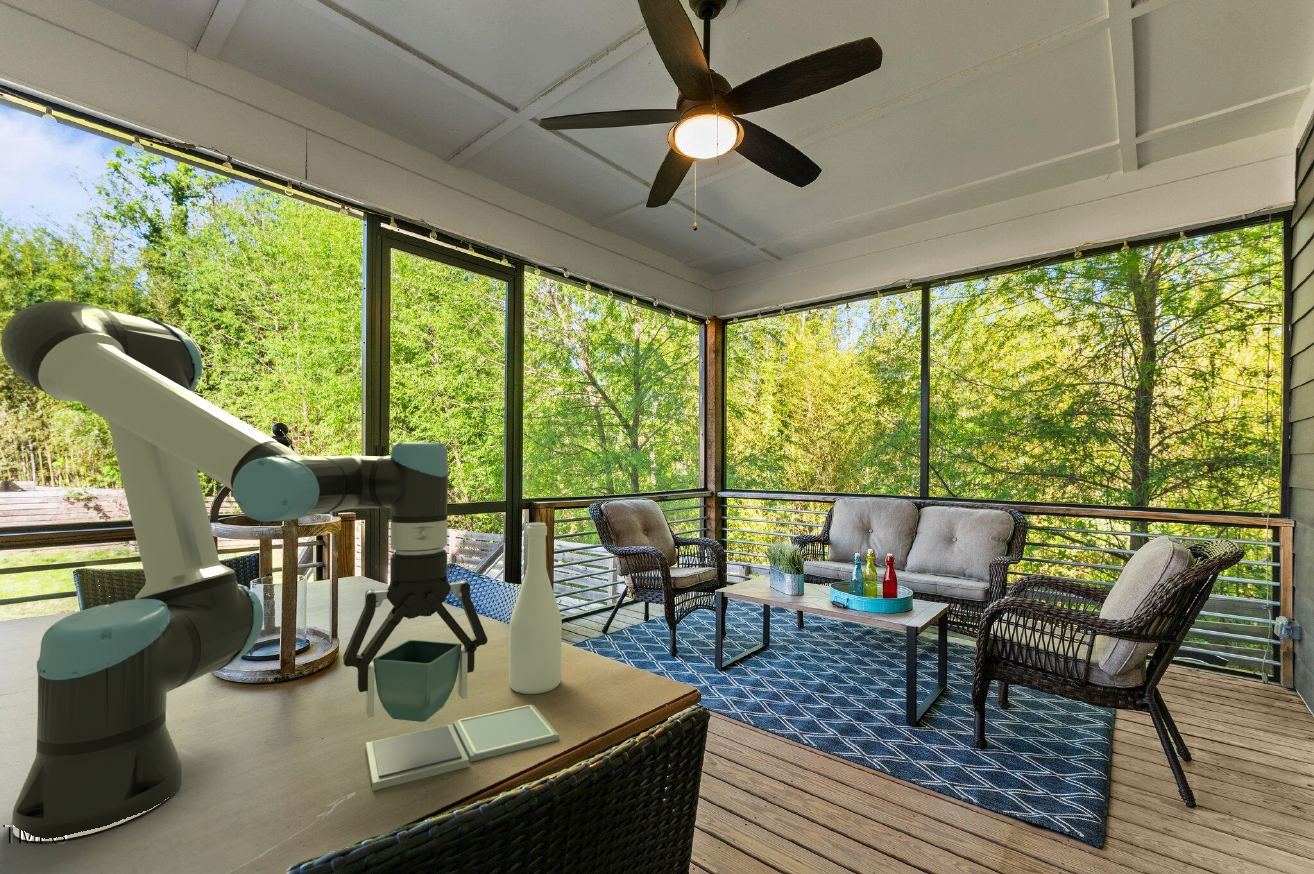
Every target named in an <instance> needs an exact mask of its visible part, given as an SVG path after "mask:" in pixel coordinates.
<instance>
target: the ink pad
mask: <svg viewBox="0 0 1314 874" xmlns="http://www.w3.org/2000/svg"><path fill="white" fill-rule="evenodd" d="M365 752H366V759H367V765H368V770H369V777H370V784H371V788H372V789H371V790H372V791H378V790H381V789H382V790H383V789H386V788H389V787H390V788H391V787H394V786H398V785H402V784H406V783H409V782H414V781H417V780H422V779H425V778H431V777H434V776H437V775H442V774H447V773H450V772H453V771H454V772H455V771H457V770H461V769H465V768H469V767H470V760H469V758H468V756H467V754H466V752H465V750H464V747H463V745H462V743H461V741H460V739H459V737H458V735H457V733H456V731H455V729H454V727H453V724H452V723H451V724H447V725H442V726H438V727H437V726H436V727H432V728H427V729H423V730H419V731H418V730H417V731H413V732H409V733H405V734H399V735H394V736H390V737H385V738H381V739H377V740H371V741H367V742H365Z"/></svg>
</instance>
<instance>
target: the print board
mask: <svg viewBox="0 0 1314 874" xmlns="http://www.w3.org/2000/svg"><path fill="white" fill-rule="evenodd" d="M452 726H453V728H454V730H455V732H456V734H457V736H458V738H459V740H460V742H461V744H462V746H463V748H464V750H465V753H466V755H467V757H468V759H469V763H472V762H475V761H480V760H485V759H488V758H492V757H495V756H500V755H503V754H508V753H512V752H517V751H520V750H524V749H528V748H531V747H532V748H533V747H535V746H541V745H545V744H549V743H552V742H556V741H559V740H560V739H559V733H558V732H557V731H556V729H554V727H553V726H552V725H551V724H550V722H549V721H548V720H547V719H546V718H545V717H544V716H543V714H542V712H540V711H539V709H538V708H537V707H536V705H534V704H527V705H523V706H517V707H513V708H507V709H504V710H503V709H502V710H498V711H493V712H488V713H483V714H478V715H475V716H470V717H465V718H461V719H457V720H455V721H453V724H452Z"/></svg>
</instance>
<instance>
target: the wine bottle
mask: <svg viewBox="0 0 1314 874" xmlns="http://www.w3.org/2000/svg"><path fill="white" fill-rule="evenodd" d="M526 535H527V536H528V537H527V539H528V541H527V566H526V571H525V574H524V578H523V581H522V584H521V587H520V590H519V593H518V596H517V599H516V602H515V605H514V607H513V610H512V613H511V617H510V620H509V625H508V626H509V633H508V635H509V636H508V637H509V638H508V639H509V640H508V643H509V645H508V647H509V648H508V684H509V687H510V688H511V689H512V691H514V692H516V693H519V694H522V695H523V694H525V695H540V694H544V693H548V692H550V691H552V690H555V688H557V687H558V686H559V685H560V682H561V679H562V641H563V640H562V633H563V632H562V627H563V625H562V624H563V623H562V615H561V612H560V609H559V606H558V602H557V600H556V597H555V594H554V590H553V587H552V584H551V581H550V577H549V574H548V569H547V554H546V553H547V550H546V549H547V545H546V544H547V542H546V541H547V540H546V539H547V538H546V537H547V535H548V526H547V524H546V523H545V522H537V521H536V522H529V523H528V526H527V527H526Z"/></svg>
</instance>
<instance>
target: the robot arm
mask: <svg viewBox="0 0 1314 874" xmlns="http://www.w3.org/2000/svg"><path fill="white" fill-rule="evenodd" d="M0 348H1V351H2V355H3V357H4V359H5V361H6V363H7V364H8V366H9V367H10V368H11V370H12V371H13V372H14V373H15V374H16V375H17V376H18V377H20V378H21V379H23V380H24V381H25V383H28V384H29V385H32V386H33V387H35V388H36V389H38V390H39V391H41V392H43V393H45V394H47V395H48V396H50V397H52V398H54V399H56V400H59V401H64V402H79V403H81V404H82V405H84V406H86V407H87V408H89V409H90V411H91V413H93V414H95V415H97V416H99V417H101V418H103V419H104V420H106V421H107V423H108V426H109V431H110V435H111V440H112V443H113V448H114V452H115V455H116V461H117V465H118V468H119V469H118V470H119V473H120V476H121V480H122V486H123V489H124V492H125V498H126V502H127V505H128V506H127V507H128V510H129V515H130V519H131V523H132V526H133V527H132V528H133V531H134V536H135V539H136V543H137V548H138V552H139V556H140V561H141V565H142V569H143V573H144V577H145V584H144V585H143V587H142V588H141V589H140V591H139V592H138V593H137V594H136V595H135V597H134V598H135V599H128V600H127V599H126V600H121V601H114V602H112V603H110V604H102V605H97V606H93V607H89V608H86V609H83V610H80V611H77V612H75V613H72V614H70V615H68V616H67V615H66V616H65V617H63V618H61V619H60V620H58V621H56V622H55V623H53V624H52V625H51V626H50V627H49V628H48V629H47V630H46V631H45V633H44V634H43V636H42V638H41V641H40V650H39V657H38V659H37V661H36V671H37V672H36V673H37V720H36V721H37V722H36V723H37V726H36V755H35V758H34V760H33V763H32V765H31V768H30V769H29V772H28V774H27V777H26V778H25V782H24V783H23V786H22V788H21V790H20V793H19V795H18V797H17V800H16V801H15V804H14V806H13V810H12V814H11V815H12V819H11V820H12V821H11V825H12V824H13V825H14V826H15V827H16V828H18V829H20V830H22V831H25V832H26V833H29V834H30V835H32V836H35V837H40V838H43V839H44V838H45V839H49V838H56V837H57V838H58V837H63V836H65V835H70V834H74V833H78V832H81V831H82V832H83V831H87V830H91V829H95V828H100V827H103V826H107V825H110V824H112V823H114V822H118V821H120V820H122V819H126V818H127V817H131V816H133V815H137V814H138V813H142V812H143V811H147V810H149V809H151V808H153V807H154V806H156V805H158V804H160V803H162V802H163V801H164V800H165V799H167V798H168V797H170V796H171V795H172V794H173V793H174V792H175V793H177V791H178V790H179V789H180V787H181V784H182V781H183V780H182V777H183V776H182V775H183V774H182V773H183V772H182V771H183V769H182V767H183V766H182V760H181V758H180V756H179V753H178V752H177V749H176V747H175V744H174V741H173V739H172V738H171V734H170V732H169V730H168V728H167V723H166V722H167V720H166V718H167V713H166V712H167V694H168V693H169V692H170V691H173V690H175V689H177V688H180V687H182V686H184V685H186V684H188V683H190V682H192V681H195V680H197V679H198V678H201V677H203V676H205V675H208V674H209V673H212V672H215V671H220V670H222V669H224V668H226V667H227V666H229V665H230V664H232V662H235V661H236V660H238V659H240V658H241V657H243V656H244V655H246V654H247V653H248V652H249V651H250V650H251V649H252V648H253V647H254V645H255V643H256V642H257V640H258V639H259V638H260V635H261V633H262V630H263V625H264V609H263V606H262V605H263V604H262V602H261V599H260V598H259V597H258V595H257V594H256V592H255V591H250V588H249V587H247V586H246V585H243V584H240V583H238V580H237V576H236V572H235V570H234V569H232V568H231V567H228V566H226V565H224V564H222V563H221V562H220V560H219V555H218V552H217V547H216V542H215V538H214V534H213V530H212V526H211V522H210V518H209V513H208V511H207V506H206V502H205V501H206V500H205V497H204V494H203V490H202V486H201V485H202V484H201V481H200V478H199V477H200V476H199V472H200V473H202V474H204V475H206V476H207V477H209V478H210V479H213V480H214V481H216V482H217V483H219V484H221V485H223V486H224V487H226V488H228V489H230V490H231V491H232V496H233V499H234V502H235V503H236V504H237V505H238V507H239V509H240V512H242V513H243V515H245V516H246V517H248V518H250V519H252V520H255V521H259V522H288V521H293V520H296V519H301V518H306V517H310V516H315V515H320V514H327V513H333V512H339V511H345V510H351V509H390V549H392V551H394V552H392V553H391V555H390V563H389V564H390V567H389V568H390V570H389V571H390V572H389V573H390V575H389V576H390V577H389V578H390V580H389V581H390V582H389V586H388V588H387V589H386V590H375V591H374V589H371V588H370V589H367V590H366V591H365V593H364V607H363V609H362V611H361V614H360V616H359V618H358V621H357V623H356V626H355V627H354V630H353V632H352V635H351V637H350V640H349V642H348V644H347V647H346V649H345V652H344V653H343V655H342V656H343V657H342V659H343V665H344V666H345V667H353V668H356V669H357V689H358V692H359V693H364V692H366V705H365V706H366V708H365V711H366V716H367V718H368V719H369V718H370V719H371V718H374V717H375V672H374V669H375V668H374V663H373V659H374V658H376V657H377V656H376V655H377V654H378V653H379V651H380V650H381V649H382V647H383V646H384V645H385V643H386V642H387V640H388V638H389V637H390V635H391V634H392V632H393V631H395V629H396V627H397V626H398V625H400V623H401V621H402V620H403V618H406V619H407V620H410V619H415V618H417V617H432V615H433V614H435V613H437V615H438V616H439V617H440V618H441V619H442V621H443V622H444V623H445V624H446V626H447V627H449V629H450V631H452V633H453V634H454V635H455V637H456V638H457V639H458V641H460V644H462V645H463V647H461V651H460V660H459V667H458V673H457V693H458V695H459V697H460V698H461V700H464V699H467V698H468V673H474V670H475V652H476V651H477V648H478V647H480V646H484V645H487V643H488V636H487V635H486V632H485V630H484V627H483V625H482V622H481V620H480V618H479V615H478V613H477V610H476V608H475V606H474V603H473V601H472V598H471V586H470V583H469V582H468V581H466V580H465V579H460V580H459V581H457V582H451V583H449V580H448V552H447V551H446V550H445V549H444V548H445V547H446V546H447V545H448V493H449V492H448V490H449V488H448V487H449V475H450V472H449V467H448V451H447V447H446V446H445V445H444V444H442V443H441V442H425V441H424V442H419V441H418V442H416V441H415V442H413V441H412V442H409V441H408V442H395V443H394V444H393V445H392V446H391V451H390V455H383V456H379V455H378V456H372V455H371V456H369V455H344V454H343V455H341V454H337V455H334V454H332V455H325V456H321V455H320V456H306V455H302V454H300V453H299V452H297V451H295V450H293V449H291V448H289V447H288V446H286V445H284V444H282V443H280V442H279V441H278V440H276V439H274V438H272V437H271V436H269V435H268V434H265V433H264V432H262V431H260V430H258V429H256V428H254V426H252V425H249V424H248V423H246V422H244V421H242V420H241V419H239V418H237V417H235V416H233V415H232V414H230V413H228V412H227V411H225V410H224V409H221V408H219V407H218V406H216V405H214V404H212V402H209V401H207V400H205V399H204V398H202V397H201V396H199V395H197V394H195V393H194V392H192V391H193V390H194V389H195V388H196V386H197V385H198V383H199V380H198V378H199V377H201V376H202V373H203V361H202V355H201V354H200V351H199V348H198V347H197V345H196V344H195V342H194V341H193V339H192V338H191V337H190V336H188V335H187V334H186V333H185V332H183V330H181V329H179V328H177V327H175V326H173V325H170V324H167V323H164V322H162V321H160V320H157V319H154V318H151V317H150V318H149V317H144V316H136V315H132V314H131V315H130V314H126V313H122V312H119V311H114V310H111V309H110V310H109V309H106V308H101V307H98V306H93V305H92V304H91V305H90V304H87V303H82V302H77V301H72V300H51V301H43V302H39V303H36V304H33V305H30V306H28V307H25V308H23V309H20V311H18V312H16V314H15V315H13V316H12V317H11V318H10V319H9V321H8V322H7V323H6V324H5V326H4V329H3V331H2V334H1V339H0ZM451 592H453V595H454V596H455V597H456V598H458V599H459V601H460V604H461V606H462V609H463V611H464V614H465V615H466V618H467V620H468V622H469V625H470V629H471V630H472V633H473V636H472V637H470V636H469V635H468V634H467V633H466V632H465V630H464V629H463V628H462V627H461V626H460V624H459V623H458V622H457V621H456V619H455V618H454V617H453V615H452V614H451V613H450V612H449V610H447V608H446V607H445V605H443V603H444V601H445V600H446V599H447V597H448V596H449V595H450V593H451ZM384 600H388V602H389V603H390V604H391V605H392V606H393V607H392V609H391V610H390V611H389V612H388V614H387V616H386V619H385V620H384V621H383V622H382V624H380V627H379V628H378V629H377V631H376V632H375V633H374V635H373V636H372V638H371V639H370V641H369V642H368V643H367V645H365V648H364V649H363V650H362V652H361V653H360V654H358V653H359V651H360V650H361V647H362V644H363V642H364V639H365V638H366V635H367V633H368V630H369V628H370V625H371V622H372V620H373V618H374V615H375V612H376V608H380V607H381V606H382V603H383V602H384ZM179 786H180V787H179ZM178 788H179V789H178ZM177 789H178V790H177ZM176 790H177V791H176ZM172 796H173V795H172ZM172 796H171V797H172ZM171 797H170V798H171ZM162 804H163V803H162Z"/></svg>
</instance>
